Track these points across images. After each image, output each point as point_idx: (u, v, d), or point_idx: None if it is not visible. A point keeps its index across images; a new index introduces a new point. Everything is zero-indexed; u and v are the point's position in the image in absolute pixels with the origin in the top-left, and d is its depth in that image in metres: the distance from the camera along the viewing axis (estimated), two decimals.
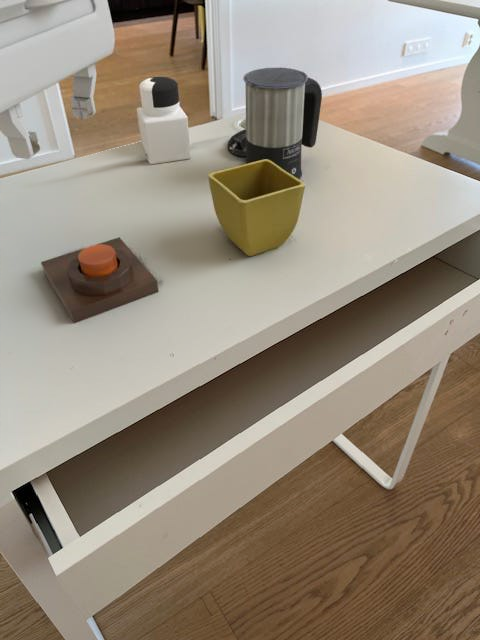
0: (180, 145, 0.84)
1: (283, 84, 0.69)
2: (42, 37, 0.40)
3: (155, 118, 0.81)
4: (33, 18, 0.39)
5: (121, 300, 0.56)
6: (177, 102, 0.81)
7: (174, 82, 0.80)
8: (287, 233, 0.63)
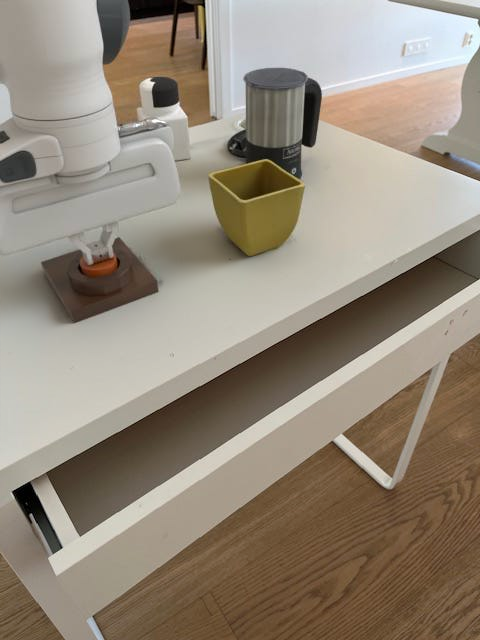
0: (180, 145, 0.84)
1: (283, 84, 0.69)
2: (76, 200, 0.49)
3: None
4: (70, 187, 0.49)
5: (121, 300, 0.56)
6: (177, 102, 0.81)
7: (174, 82, 0.80)
8: (287, 233, 0.63)
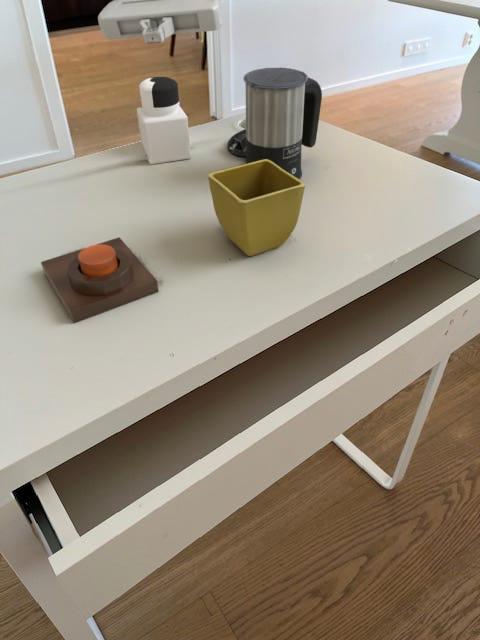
0: (180, 145, 0.84)
1: (283, 84, 0.69)
2: None
3: (154, 118, 0.81)
4: None
5: (121, 300, 0.56)
6: (177, 102, 0.81)
7: (174, 82, 0.80)
8: (287, 233, 0.63)
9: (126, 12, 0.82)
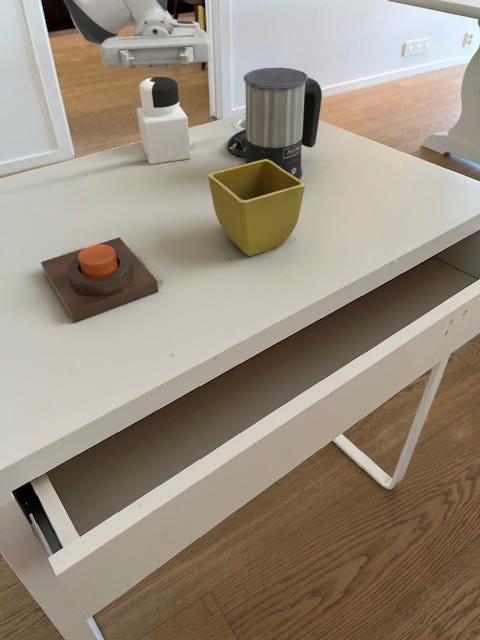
0: (180, 145, 0.84)
1: (283, 84, 0.69)
2: None
3: (154, 118, 0.81)
4: None
5: (121, 300, 0.56)
6: (177, 102, 0.81)
7: (174, 82, 0.80)
8: (287, 233, 0.63)
9: (128, 43, 0.92)
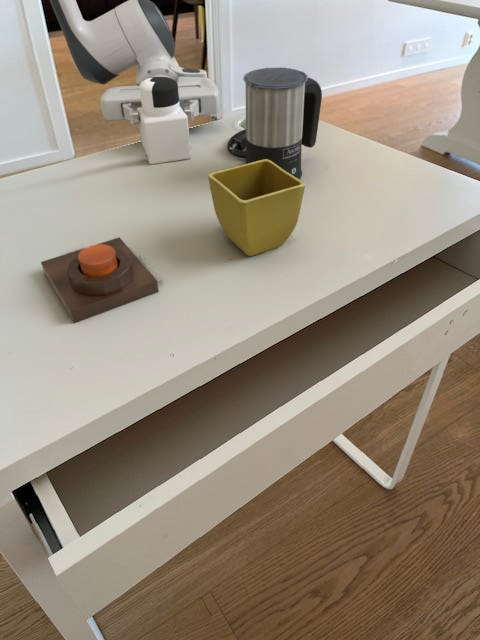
0: (180, 145, 0.84)
1: (283, 84, 0.69)
2: None
3: (155, 118, 0.81)
4: None
5: (121, 300, 0.56)
6: (177, 102, 0.81)
7: (174, 82, 0.80)
8: (287, 233, 0.63)
9: (130, 96, 0.86)
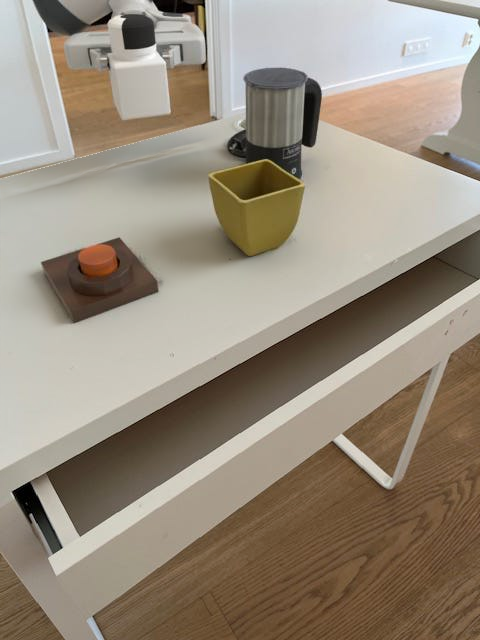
0: (158, 97, 0.71)
1: (283, 84, 0.69)
2: None
3: (126, 63, 0.68)
4: None
5: (121, 300, 0.56)
6: (153, 44, 0.68)
7: (149, 19, 0.67)
8: (287, 233, 0.63)
9: (99, 40, 0.72)
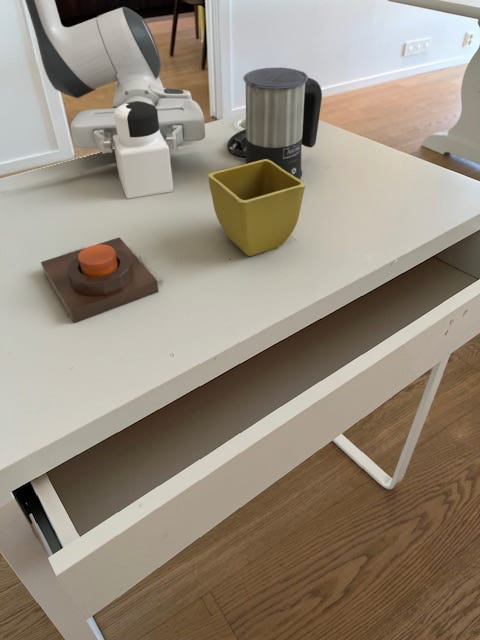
0: (161, 177, 0.75)
1: (283, 84, 0.69)
2: None
3: (131, 149, 0.72)
4: None
5: (121, 300, 0.56)
6: (157, 130, 0.72)
7: (153, 108, 0.71)
8: (287, 233, 0.63)
9: (104, 121, 0.77)
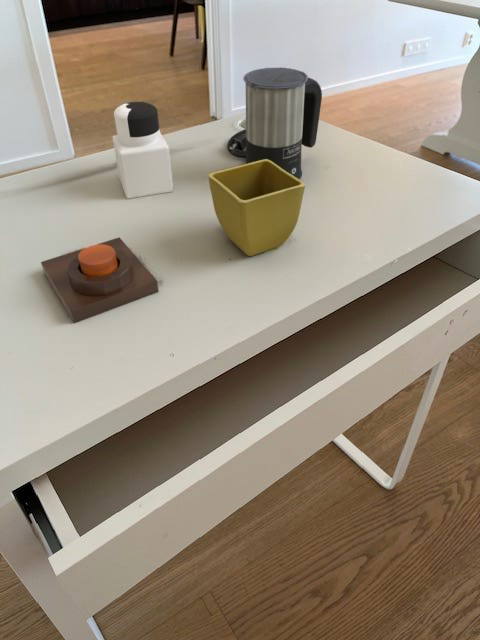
0: (161, 177, 0.75)
1: (283, 84, 0.69)
2: None
3: (131, 149, 0.72)
4: None
5: (121, 300, 0.56)
6: (157, 130, 0.73)
7: (153, 108, 0.71)
8: (287, 233, 0.63)
9: None
